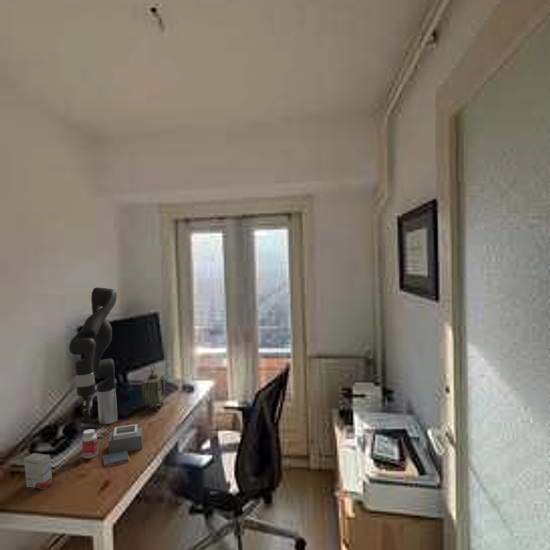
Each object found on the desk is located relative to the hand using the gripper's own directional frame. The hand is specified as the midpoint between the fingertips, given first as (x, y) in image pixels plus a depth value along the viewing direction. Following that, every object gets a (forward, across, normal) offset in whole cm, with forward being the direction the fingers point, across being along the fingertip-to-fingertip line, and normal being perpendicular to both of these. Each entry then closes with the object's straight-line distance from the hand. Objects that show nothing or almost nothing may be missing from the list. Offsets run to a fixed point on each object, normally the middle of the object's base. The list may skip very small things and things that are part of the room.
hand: (88, 419), depth 192 cm
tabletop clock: (+16, +50, -28) cm, 60 cm away
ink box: (+17, -20, +16) cm, 31 cm away
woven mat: (+17, -9, -11) cm, 22 cm away
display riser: (+16, +3, -15) cm, 22 cm away
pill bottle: (+16, 0, 0) cm, 17 cm away
